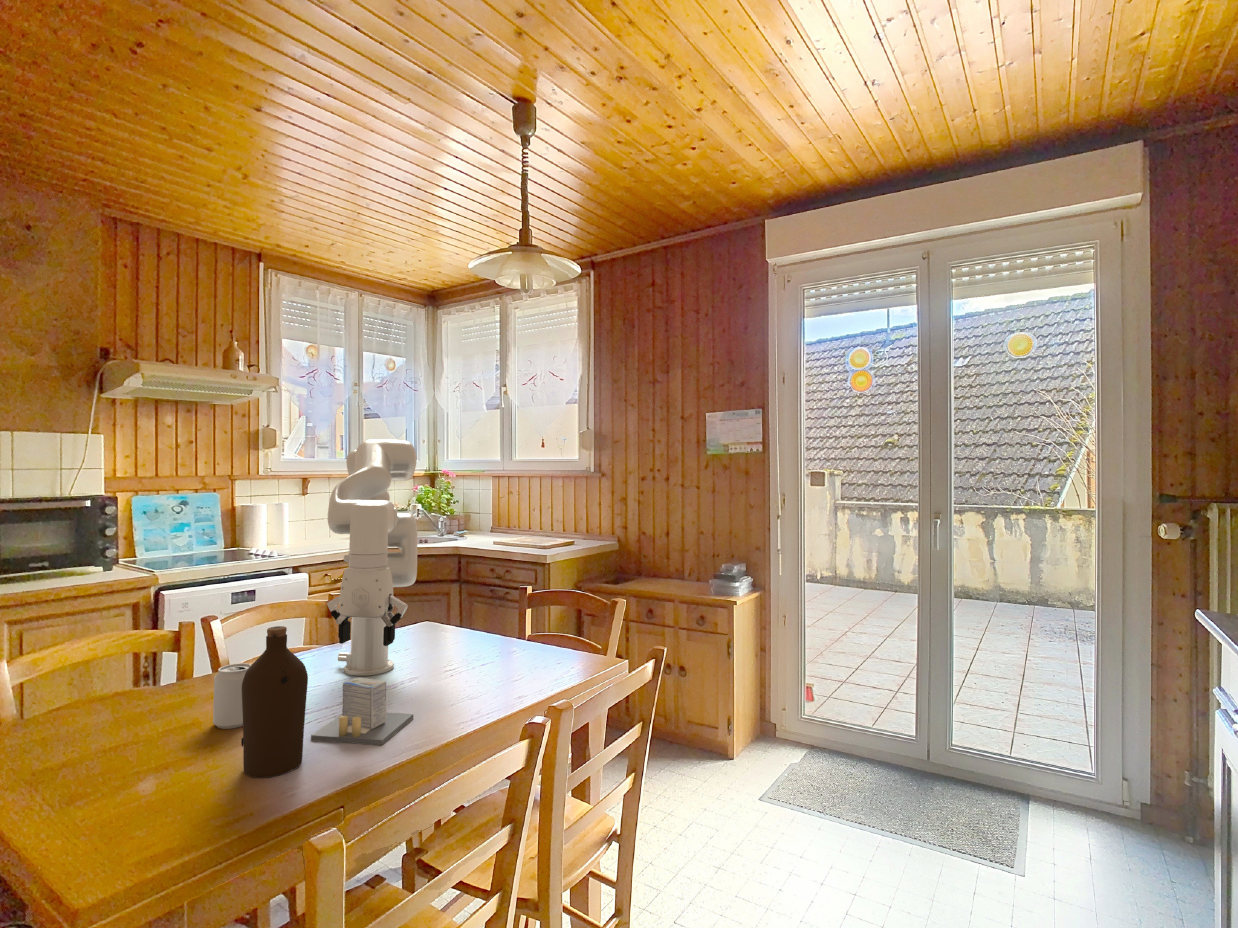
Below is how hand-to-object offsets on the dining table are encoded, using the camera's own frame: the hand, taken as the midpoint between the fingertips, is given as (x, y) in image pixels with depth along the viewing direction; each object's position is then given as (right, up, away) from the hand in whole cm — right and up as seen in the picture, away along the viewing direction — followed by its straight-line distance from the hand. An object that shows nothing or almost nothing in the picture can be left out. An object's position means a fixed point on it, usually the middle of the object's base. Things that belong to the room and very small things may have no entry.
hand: (366, 643), depth 135 cm
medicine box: (0, -17, 0) cm, 17 cm away
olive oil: (-10, -18, -18) cm, 27 cm away
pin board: (0, -18, 0) cm, 18 cm away
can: (-29, -18, +1) cm, 34 cm away
